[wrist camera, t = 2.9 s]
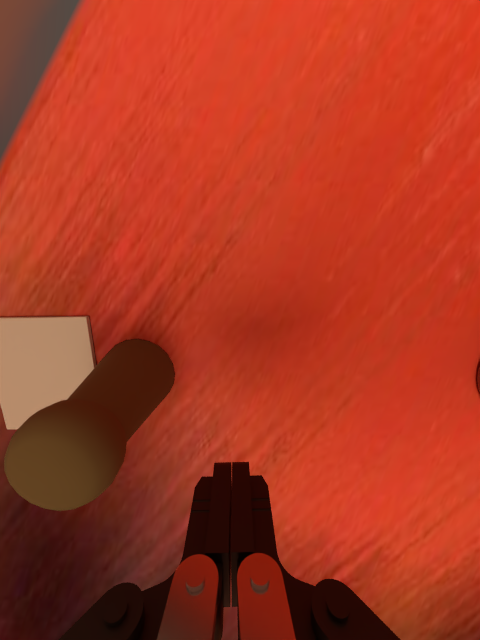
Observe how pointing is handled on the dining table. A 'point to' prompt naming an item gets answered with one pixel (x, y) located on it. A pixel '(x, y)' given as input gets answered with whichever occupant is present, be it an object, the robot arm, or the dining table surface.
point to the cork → (88, 428)
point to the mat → (42, 362)
